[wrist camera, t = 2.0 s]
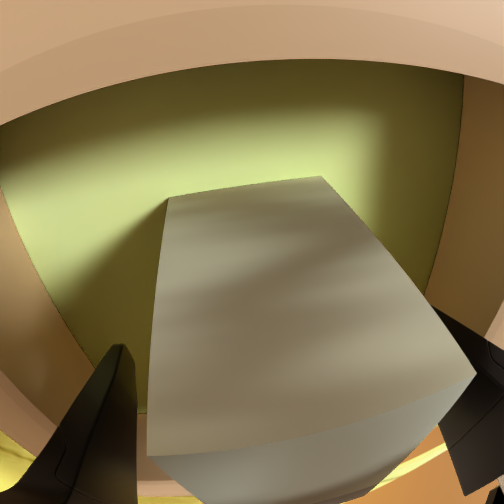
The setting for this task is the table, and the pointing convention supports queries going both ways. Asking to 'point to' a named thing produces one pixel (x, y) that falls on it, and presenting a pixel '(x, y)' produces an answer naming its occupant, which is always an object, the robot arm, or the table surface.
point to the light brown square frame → (223, 52)
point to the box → (289, 349)
